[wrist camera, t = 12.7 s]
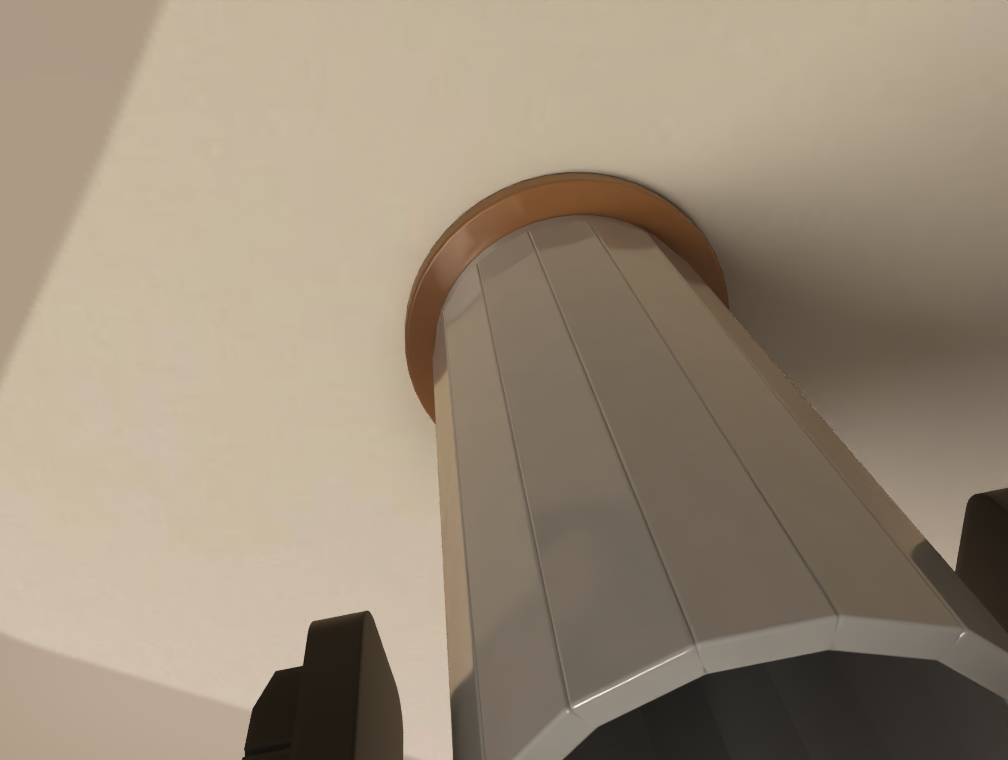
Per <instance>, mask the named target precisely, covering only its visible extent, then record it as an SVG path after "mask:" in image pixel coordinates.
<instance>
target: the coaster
mask: <svg viewBox="0 0 1008 760" xmlns="http://www.w3.org/2000/svg"><path fill="white" fill-rule="evenodd" d="M569 215H595V216H603V217H610V218H614V219H618V220H621V221H625V222H628V223H631V224H633V225H635V226H638V227H640V228H642V229H645V230H646V231H648V232H650V233H651V234H653V235H654V236H656V237H658V238H659V239H661V240H662V241H663V242H664V243H665V244H667V245H668V246H669V247H670V248H671V249H672V250H673V251H674V252H675V253H676V254H677V255H679V256H680V257H681V258H683V259H684V260H685V261H687V262H688V264H689V265H690V266H691V267H692V268H693V269H694V271H695V272H696V273H697V274H698V275H699V276H700V277H701V279H702V280H703V281H704V282H705V283H706V284H707V286H708V287H709V288H710V289H711V290H712V291H713V293H714V294H715V295H716V296H717V297H718V298H719V299H720V301H721V302H722V303H723V304H724V305H725V306H726V308H727V309H728V310H729V305H728V294H727V289H726V285H725V280H724V276H723V273H722V270H721V268H720V265H719V263H718V261H717V258H716V256H715V254H714V252H713V251H712V249H711V247H710V246H709V244H708V242H707V241H706V239H705V238H704V236H703V235H702V234H701V233H700V232H699V230H698V229H697V228H696V227H695V226H694V224H693V223H692V222H691V221H690V220H689V219H688V218H687V217H686V216H685V215H684V214H682V213H681V212H680V211H679V210H678V209H677V208H676V207H674V206H673V205H672V204H671V203H670V202H668V201H667V200H665V199H664V198H662V197H660V196H659V195H657V194H656V193H654V192H653V191H650V190H648V189H646V188H644V187H642V186H639V185H637V184H635V183H632V182H629V181H626V180H622V179H619V178H615V177H611V176H605V175H598V174H591V173H565V174H557V175H548V176H542V177H539V178H535V179H531V180H527V181H523V182H520V183H518V184H515V185H513V186H510V187H508V188H505V189H503V190H500V191H498V192H497V193H495V194H493V195H491V196H489V197H488V198H486V199H484V200H482V201H481V202H479V203H478V204H476V205H475V206H474V207H472V208H471V209H470V210H468V211H467V212H466V213H464V214H463V215H462V216H461V217H459V218H458V219H457V220H456V221H455V222H454V223H453V224H452V225H451V226H450V227H449V228H448V229H447V230H446V231H445V232H444V234H443V235H442V236H441V237H440V239H439V240H438V241H437V242H436V244H435V245H434V246H433V247H432V249H431V250H430V252H429V254H428V255H427V257H426V259H425V260H424V262H423V264H422V265H421V267H420V270H419V272H418V274H417V277H416V279H415V281H414V284H413V286H412V290H411V294H410V298H409V301H408V305H407V313H406V322H405V354H406V359H407V365H408V371H409V375H410V378H411V381H412V384H413V387H414V389H415V392H416V394H417V396H418V398H419V400H420V402H421V404H422V406H423V407H424V409H425V410H426V412H427V413H428V415H429V416H430V417H431V419H432V420H433V422H434V423H435V424H436V419H435V399H434V380H433V354H434V349H435V335H436V328H437V323H438V320H439V316H440V313H441V309H442V307H443V305H444V302H445V300H446V298H447V296H448V293H449V292H450V290H451V288H452V287H453V285H454V284H455V282H456V280H457V279H458V277H459V276H460V275H461V274H462V272H463V271H464V270H465V269H466V268H467V266H468V265H469V264H470V263H471V262H472V261H473V260H474V259H475V258H476V257H477V256H478V255H479V254H480V253H481V252H483V251H484V250H485V249H486V248H488V247H489V246H490V245H492V244H493V243H495V242H496V241H497V240H499V239H500V238H502V237H504V236H506V235H508V234H509V233H511V232H513V231H515V230H517V229H519V228H522V227H524V226H527V225H529V224H532V223H534V222H538V221H542V220H546V219H550V218H554V217H561V216H569Z"/></svg>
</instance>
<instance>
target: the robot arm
mask: <svg viewBox="0 0 1008 760" xmlns="http://www.w3.org/2000/svg"><path fill="white" fill-rule="evenodd" d="M955 573H956V574H957V575H958V576H959V577H960V579H961V580H962V581H963V582H964V583H965V584H966V586H967V587H968V588H969V589H970V590H971V591H972V593H973V594H974V595H975V596H976V597H977V598H978V600H979V601H980V602H981V603H982V604H983V605H984V606H985V608H986V609H987V610H988V611H989V612H990V613H991V615H992V616H993V617H994V618H995V619H996V620H997V622H998V623H999V624H1000V625H1001V626H1002V627H1003V628H1004V630H1005V631H1006V632H1007V633H1008V488H1005V489H1000V490H994V491H989V492H984V493H979V494H975V495H973V496H972V497H971V498H970V499H969V501H968V503H967V506H966V511H965V517H964V523H963V529H962V534H961V540H960V546H959V552H958V558H957V564H956V570H955ZM244 750H245V757H243V758H242V760H403V721H402V712H401V705H400V699H399V694H398V690H397V686H396V683H395V680H394V677H393V674H392V671H391V669H390V666H389V663H388V660H387V657H386V654H385V651H384V648H383V645H382V642H381V639H380V636H379V633H378V630H377V628H376V625H375V622H374V619H373V617H372V615H371V613H370V612H369V611H364V612H358V613H353V614H348V615H343V616H338V617H333V618H328V619H323V620H317V621H313V622H312V623H311V625H310V627H309V630H308V636H307V643H306V649H305V656H304V663H303V666H300V667H295V668H290V669H285V670H279V671H276V672H275V673H274V675H273V677H272V678H271V680H270V681H269V683H268V685H267V686H266V688H265V690H264V691H263V693H262V694H261V696H260V698H259V699H258V701H257V703H256V704H255V706H254V707H253V709H252V714H251V719H250V724H249V729H248V733H247V738H246V743H245V748H244Z"/></svg>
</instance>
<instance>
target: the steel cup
mask: <svg viewBox="0 0 1008 760" xmlns="http://www.w3.org/2000/svg"><path fill="white" fill-rule="evenodd" d="M433 380H434V399H435V419H436V438H437V457H438V477H439V496H440V515H441V534H442V554H443V573H444V592H445V612H446V631H447V650H448V670H449V689H450V708H451V727H452V747H453V760H1008V633H1007V632H1006V631H1005V630H1004V628H1003V627H1002V626H1001V625H1000V624H999V623H998V622H997V620H996V619H995V618H994V617H993V616H992V615H991V613H990V612H989V611H988V610H987V609H986V608H985V606H984V605H983V604H982V603H981V602H980V601H979V600H978V598H977V597H976V596H975V595H974V594H973V593H972V591H971V590H970V589H969V588H968V587H967V586H966V584H965V583H964V582H963V581H962V580H961V579H960V577H959V576H958V575H957V574H956V573H955V572H954V571H953V569H952V568H951V567H950V566H949V565H948V564H947V562H946V561H945V560H944V559H943V558H942V557H941V555H940V554H939V553H938V552H937V551H936V550H935V549H934V547H933V546H932V545H931V544H930V543H929V542H928V540H927V539H926V538H925V537H924V536H923V535H922V533H921V532H920V531H919V530H918V529H917V528H916V527H915V525H914V524H913V523H912V522H911V521H910V520H909V518H908V517H907V516H906V515H905V514H904V513H903V511H902V510H901V509H900V508H899V507H898V506H897V505H896V503H895V502H894V501H893V500H892V499H891V498H890V496H889V495H888V494H887V493H886V492H885V491H884V489H883V488H882V487H881V486H880V485H879V484H878V483H877V481H876V480H875V479H874V478H873V477H872V476H871V474H870V473H869V472H868V471H867V470H866V469H865V467H864V466H863V465H862V464H861V463H860V462H859V461H858V459H857V458H856V457H855V456H854V455H853V454H852V452H851V451H850V450H849V449H848V448H847V447H846V445H845V444H844V443H843V442H842V441H841V440H840V438H839V437H838V436H837V435H836V434H835V433H834V432H833V430H832V429H831V428H830V427H829V426H828V425H827V423H826V422H825V421H824V420H823V419H822V418H821V416H820V415H819V414H818V413H817V412H816V411H815V410H814V408H813V407H812V406H811V405H810V404H809V403H808V401H807V400H806V399H805V398H804V397H803V396H802V394H801V393H800V392H799V391H798V390H797V389H796V388H795V386H794V385H793V384H792V383H791V382H790V381H789V379H788V378H787V377H786V376H785V375H784V374H783V372H782V371H781V370H780V369H779V368H778V367H777V366H776V364H775V363H774V362H773V361H772V360H771V359H770V357H769V356H768V355H767V354H766V353H765V352H764V350H763V349H762V348H761V347H760V346H759V345H758V344H757V342H756V341H755V340H754V339H753V338H752V337H751V335H750V334H749V333H748V332H747V331H746V330H745V328H744V327H743V326H742V325H741V324H740V323H739V321H738V320H737V319H736V318H735V317H734V316H733V315H732V313H731V312H730V311H729V310H728V309H727V308H726V306H725V305H724V304H723V303H722V302H721V301H720V299H719V298H718V297H717V296H716V295H715V294H714V293H713V291H712V290H711V289H710V288H709V287H708V286H707V284H706V283H705V282H704V281H703V280H702V279H701V277H700V276H699V275H698V274H697V273H696V272H695V271H694V269H693V268H692V267H691V266H690V265H689V264H688V262H687V261H685V260H684V259H683V258H681V257H680V256H679V255H677V254H676V253H675V252H674V251H673V250H672V249H671V248H670V247H669V246H668V245H667V244H665V243H664V242H663V241H662V240H661V239H659V238H658V237H656V236H654V235H653V234H651V233H650V232H648V231H646V230H645V229H642V228H640V227H638V226H635V225H633V224H631V223H628V222H625V221H621V220H618V219H614V218H610V217H603V216H595V215H569V216H561V217H554V218H550V219H546V220H542V221H538V222H534V223H532V224H529V225H527V226H524V227H522V228H519V229H517V230H515V231H513V232H511V233H509V234H508V235H506V236H504V237H502V238H500V239H499V240H497V241H496V242H495V243H493V244H492V245H490V246H489V247H488V248H486V249H485V250H484V251H483V252H481V253H480V254H479V255H478V256H477V257H476V258H475V259H474V260H473V261H472V262H471V263H470V264H469V265H468V266H467V268H466V269H465V270H464V271H463V272H462V274H461V275H460V276H459V277H458V279H457V280H456V282H455V284H454V285H453V287H452V288H451V290H450V292H449V293H448V296H447V298H446V300H445V302H444V305H443V307H442V309H441V313H440V316H439V320H438V323H437V328H436V335H435V349H434V354H433Z"/></svg>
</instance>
